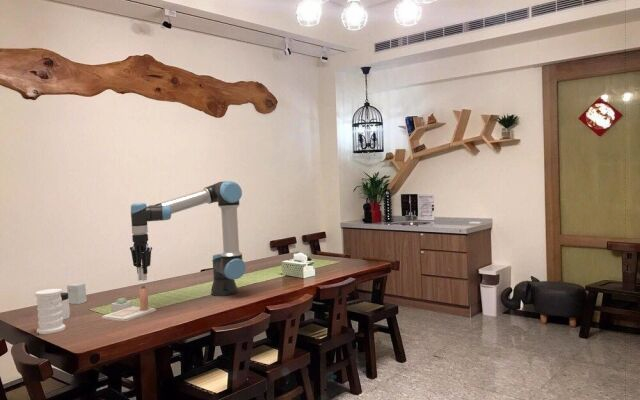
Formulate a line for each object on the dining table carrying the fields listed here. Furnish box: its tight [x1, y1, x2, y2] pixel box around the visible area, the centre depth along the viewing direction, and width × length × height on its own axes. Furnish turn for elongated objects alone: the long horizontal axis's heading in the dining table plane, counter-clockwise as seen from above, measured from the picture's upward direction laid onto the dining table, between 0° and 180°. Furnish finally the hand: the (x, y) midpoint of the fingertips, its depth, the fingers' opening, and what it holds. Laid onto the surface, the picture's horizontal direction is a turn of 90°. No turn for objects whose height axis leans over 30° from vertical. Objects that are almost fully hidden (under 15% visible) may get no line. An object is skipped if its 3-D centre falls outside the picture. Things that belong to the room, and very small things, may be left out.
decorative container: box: [34, 288, 66, 335], centre depth 230 cm, size 12×12×18 cm
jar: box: [61, 292, 71, 320], centre depth 251 cm, size 9×8×12 cm
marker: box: [138, 285, 149, 311], centre depth 256 cm, size 4×4×12 cm
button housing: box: [110, 300, 133, 312], centre depth 265 cm, size 7×7×4 cm
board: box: [101, 305, 157, 322], centre depth 253 cm, size 16×20×1 cm
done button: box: [116, 297, 127, 304], centre depth 265 cm, size 4×4×4 cm
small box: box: [66, 282, 87, 305], centre depth 284 cm, size 8×6×10 cm
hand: (142, 280), depth 256 cm, fingers open, 2 cm apart
